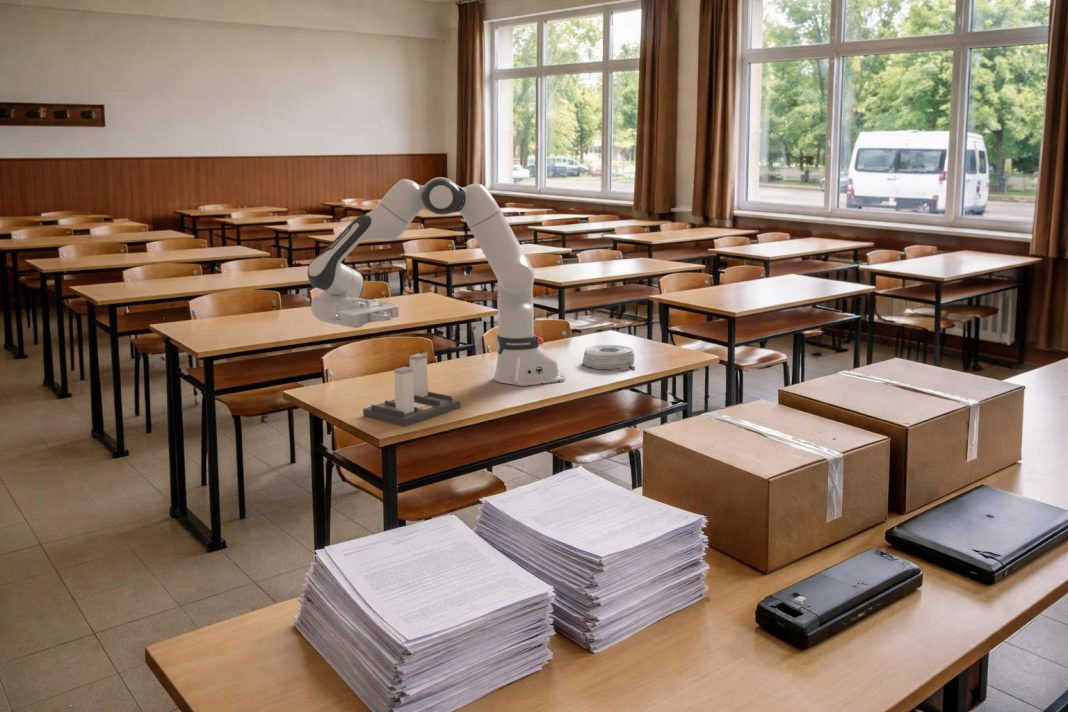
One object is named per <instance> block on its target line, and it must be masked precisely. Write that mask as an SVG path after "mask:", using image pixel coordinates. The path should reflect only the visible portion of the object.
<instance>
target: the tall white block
mask: <svg viewBox="0 0 1068 712" xmlns="http://www.w3.org/2000/svg"><path fill="white" fill-rule="evenodd" d="M427 356H428V355H427V354H426V353H425V354H424V353H419V352H418V353H416V354H412V355H409V358H408V360H409V362H408V363H409V367H410V368H413V383H414V395H417V396H421V397H425V396H428V390H429V388H428V387H429V386H428V384H429V383H428V382H429V381H428V357H427Z"/></svg>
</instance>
